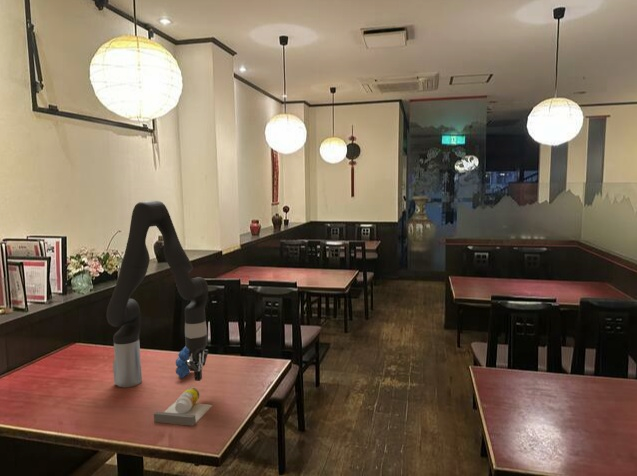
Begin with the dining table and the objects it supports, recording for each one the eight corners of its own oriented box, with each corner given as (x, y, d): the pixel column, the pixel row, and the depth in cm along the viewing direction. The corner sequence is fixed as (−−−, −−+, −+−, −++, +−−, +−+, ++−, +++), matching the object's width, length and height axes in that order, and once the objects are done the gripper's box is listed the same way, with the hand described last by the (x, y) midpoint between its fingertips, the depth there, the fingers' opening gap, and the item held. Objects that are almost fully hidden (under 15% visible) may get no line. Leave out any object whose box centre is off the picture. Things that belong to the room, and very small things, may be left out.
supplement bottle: (196, 404, 160) (184, 419, 150) (182, 396, 160) (169, 410, 150) (202, 391, 159) (191, 405, 149) (189, 383, 159) (176, 397, 149)
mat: (154, 421, 147) (153, 413, 147) (175, 402, 160) (175, 395, 160) (193, 425, 144) (192, 417, 144) (211, 406, 157) (211, 398, 157)
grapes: (184, 369, 190) (183, 341, 188) (198, 370, 188) (197, 343, 187) (168, 380, 179) (166, 351, 177) (183, 382, 177) (181, 353, 175)
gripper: (195, 327, 168) (198, 371, 170) (176, 339, 155) (179, 387, 157) (214, 328, 166) (216, 373, 168) (196, 340, 153) (198, 389, 155)
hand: (198, 380), depth 162 cm, fingers closed
